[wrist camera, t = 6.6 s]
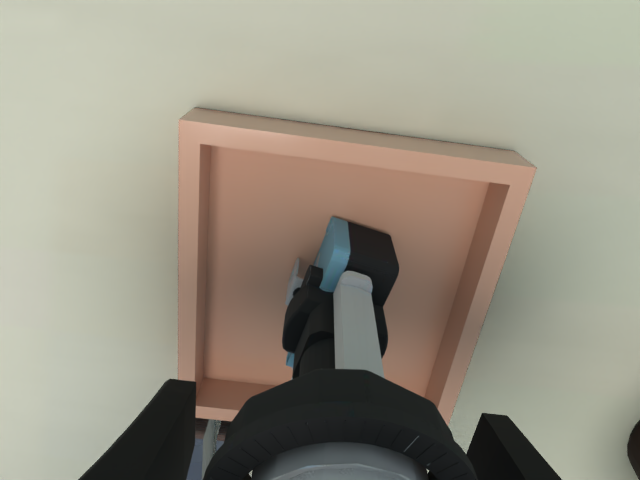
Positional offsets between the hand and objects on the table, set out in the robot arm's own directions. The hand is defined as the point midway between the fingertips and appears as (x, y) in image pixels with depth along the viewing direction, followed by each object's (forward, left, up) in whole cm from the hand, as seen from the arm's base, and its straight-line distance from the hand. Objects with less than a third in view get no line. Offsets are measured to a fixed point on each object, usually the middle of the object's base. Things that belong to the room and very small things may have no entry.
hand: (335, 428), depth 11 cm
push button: (0, 0, -7) cm, 7 cm away
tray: (0, 0, -7) cm, 7 cm away
